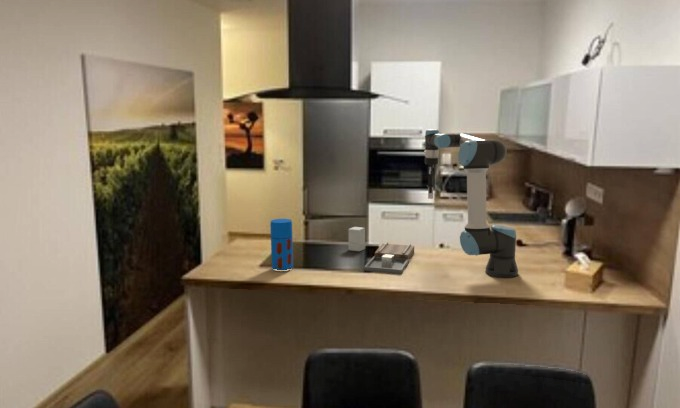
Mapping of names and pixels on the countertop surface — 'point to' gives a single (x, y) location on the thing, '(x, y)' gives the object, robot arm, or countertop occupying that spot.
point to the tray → (376, 266)
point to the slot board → (395, 250)
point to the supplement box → (356, 238)
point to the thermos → (281, 244)
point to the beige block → (387, 261)
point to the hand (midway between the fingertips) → (430, 198)
